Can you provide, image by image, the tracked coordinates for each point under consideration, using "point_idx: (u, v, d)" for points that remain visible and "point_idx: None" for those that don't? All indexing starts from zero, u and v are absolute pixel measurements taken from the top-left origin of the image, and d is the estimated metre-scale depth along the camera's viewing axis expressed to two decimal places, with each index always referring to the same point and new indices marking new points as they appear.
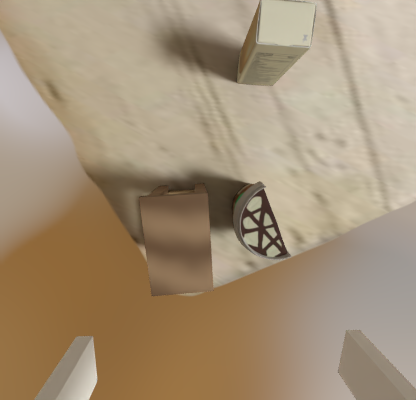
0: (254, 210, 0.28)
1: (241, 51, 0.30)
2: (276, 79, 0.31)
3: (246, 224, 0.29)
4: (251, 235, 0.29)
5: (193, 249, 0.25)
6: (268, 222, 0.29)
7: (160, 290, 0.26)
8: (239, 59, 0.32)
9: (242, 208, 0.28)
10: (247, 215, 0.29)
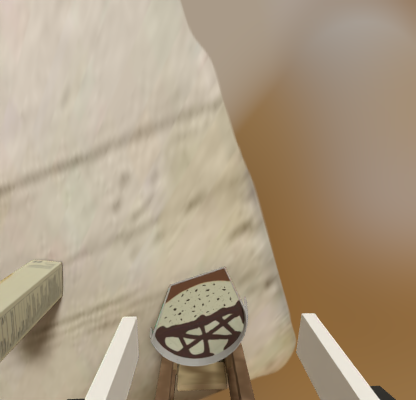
0: (181, 343, 0.24)
1: None
2: (49, 274, 0.28)
3: (198, 350, 0.24)
4: (212, 346, 0.24)
5: None
6: (197, 330, 0.24)
7: None
8: None
9: (176, 360, 0.24)
10: (187, 350, 0.24)
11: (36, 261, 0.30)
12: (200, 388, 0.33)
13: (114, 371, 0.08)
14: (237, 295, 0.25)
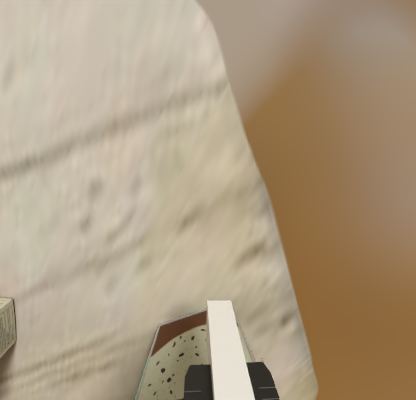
0: None
1: None
2: None
3: None
4: None
5: None
6: None
7: None
8: None
9: None
10: None
11: None
12: None
13: (224, 342, 0.10)
14: (250, 353, 0.18)
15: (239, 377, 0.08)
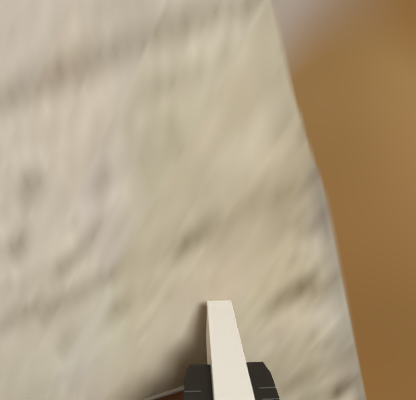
0: None
1: None
2: None
3: None
4: None
5: None
6: None
7: None
8: None
9: None
10: None
11: None
12: None
13: (224, 342, 0.10)
14: None
15: (239, 377, 0.08)
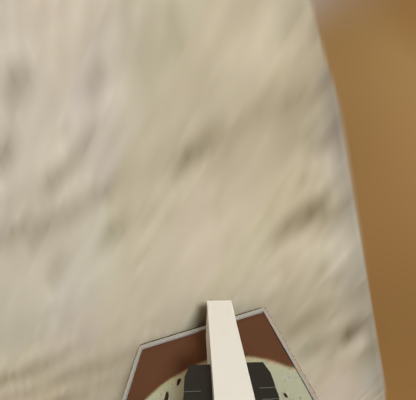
0: None
1: None
2: None
3: None
4: None
5: None
6: None
7: None
8: None
9: None
10: None
11: None
12: None
13: (224, 342, 0.10)
14: None
15: (239, 377, 0.08)
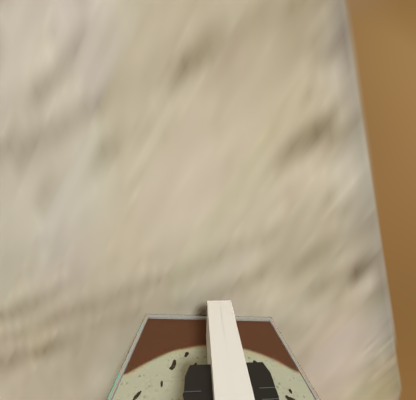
0: None
1: None
2: None
3: None
4: None
5: None
6: None
7: None
8: None
9: None
10: None
11: None
12: None
13: (224, 342, 0.10)
14: None
15: (239, 377, 0.08)
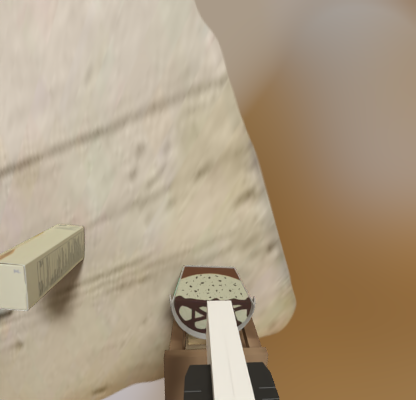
0: (191, 315, 0.28)
1: None
2: (74, 234, 0.31)
3: (201, 326, 0.29)
4: None
5: None
6: None
7: None
8: None
9: (182, 327, 0.28)
10: (193, 322, 0.28)
11: (61, 225, 0.33)
12: None
13: (224, 342, 0.10)
14: (246, 293, 0.30)
15: (239, 377, 0.08)
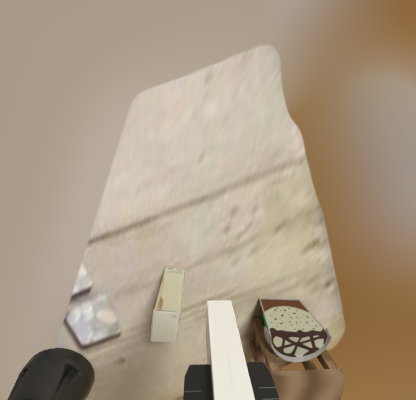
0: (282, 343, 0.37)
1: None
2: (183, 277, 0.40)
3: (288, 351, 0.38)
4: (298, 351, 0.38)
5: (309, 386, 0.35)
6: (296, 339, 0.37)
7: None
8: None
9: (276, 352, 0.37)
10: (282, 348, 0.37)
11: (169, 268, 0.42)
12: (279, 360, 0.45)
13: (224, 342, 0.10)
14: (319, 324, 0.39)
15: (239, 377, 0.08)
